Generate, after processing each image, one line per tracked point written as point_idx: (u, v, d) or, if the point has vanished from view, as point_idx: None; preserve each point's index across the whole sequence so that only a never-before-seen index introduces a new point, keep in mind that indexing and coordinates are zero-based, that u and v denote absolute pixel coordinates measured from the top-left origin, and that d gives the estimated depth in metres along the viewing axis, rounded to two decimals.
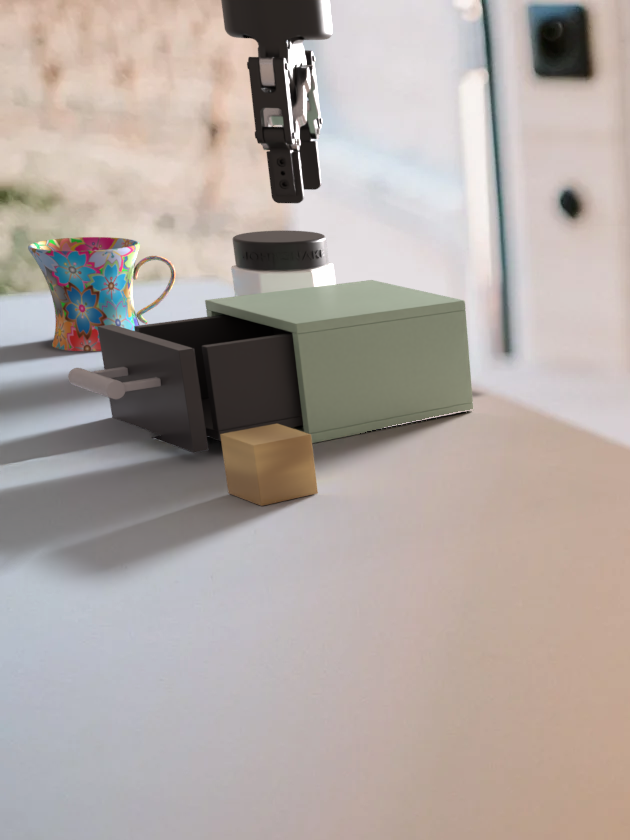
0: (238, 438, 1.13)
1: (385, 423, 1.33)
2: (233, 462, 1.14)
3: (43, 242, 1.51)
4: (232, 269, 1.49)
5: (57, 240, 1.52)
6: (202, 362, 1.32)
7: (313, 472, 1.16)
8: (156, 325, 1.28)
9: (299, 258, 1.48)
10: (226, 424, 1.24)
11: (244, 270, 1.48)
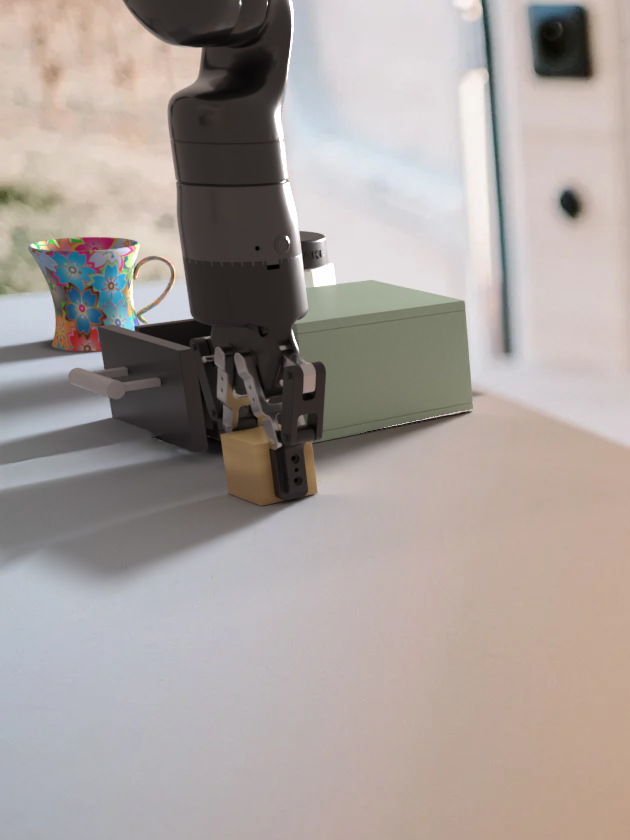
0: (238, 438, 1.13)
1: (385, 423, 1.33)
2: (233, 462, 1.14)
3: (43, 242, 1.51)
4: None
5: (57, 240, 1.52)
6: None
7: (313, 472, 1.16)
8: (156, 325, 1.28)
9: None
10: None
11: None
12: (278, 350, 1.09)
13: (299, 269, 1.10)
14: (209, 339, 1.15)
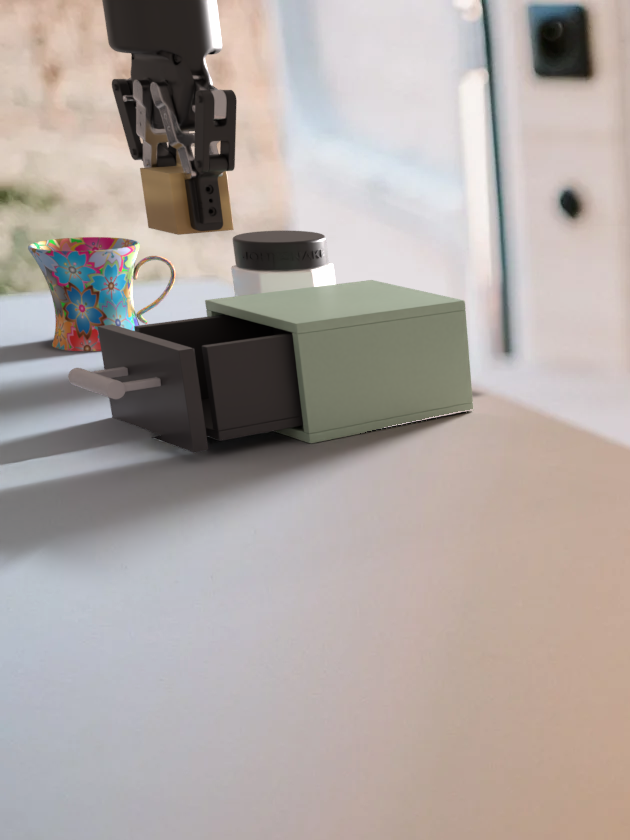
0: (156, 170, 1.19)
1: (385, 423, 1.33)
2: (152, 194, 1.20)
3: (43, 242, 1.51)
4: (232, 269, 1.49)
5: (57, 240, 1.52)
6: (202, 362, 1.32)
7: (229, 208, 1.22)
8: (156, 325, 1.28)
9: (299, 258, 1.48)
10: (226, 424, 1.24)
11: (244, 270, 1.48)
12: (191, 78, 1.15)
13: (212, 3, 1.16)
14: (130, 79, 1.21)
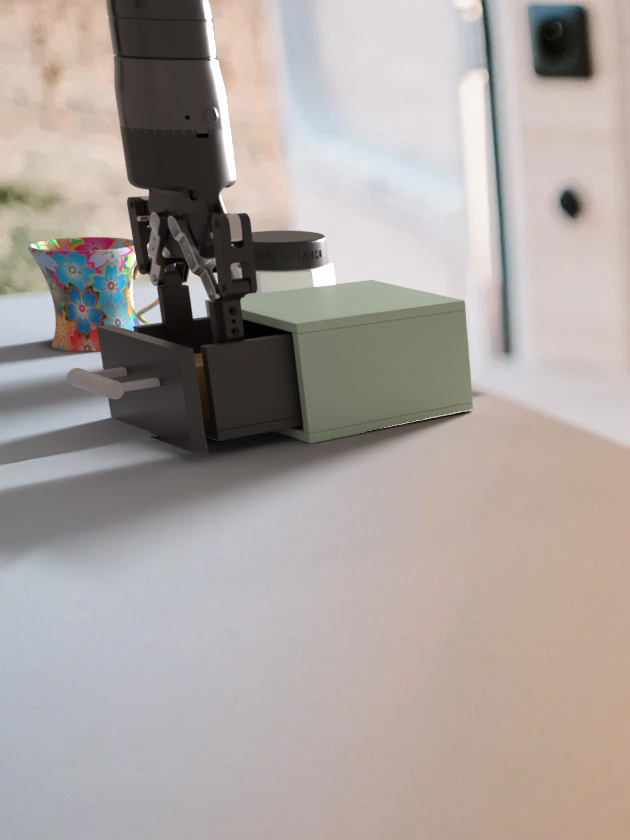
0: None
1: (385, 423, 1.33)
2: None
3: (43, 242, 1.51)
4: None
5: (57, 240, 1.52)
6: None
7: None
8: (155, 325, 1.28)
9: (299, 258, 1.48)
10: (225, 424, 1.24)
11: None
12: (206, 209, 1.20)
13: (227, 140, 1.21)
14: (146, 201, 1.25)
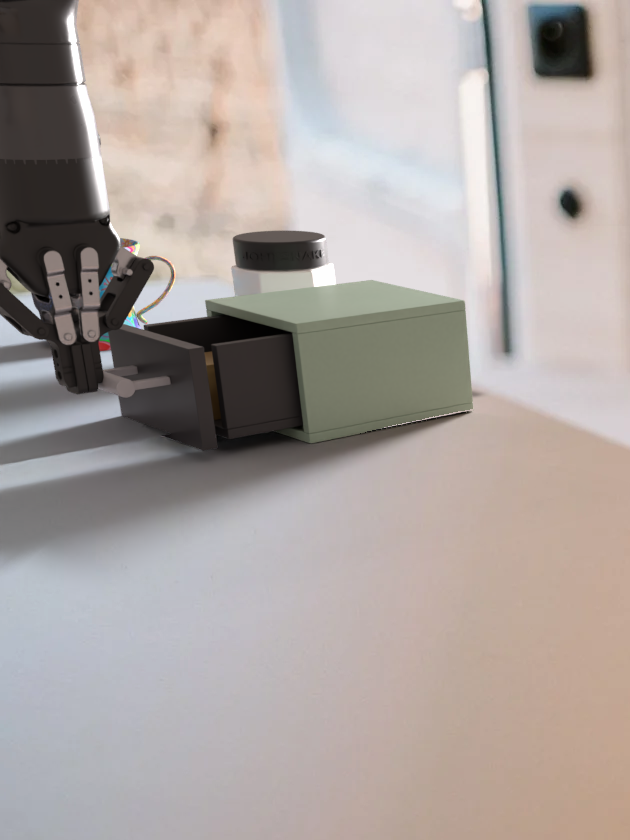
0: None
1: (385, 423, 1.33)
2: None
3: None
4: (232, 269, 1.49)
5: None
6: None
7: None
8: (165, 324, 1.29)
9: (299, 258, 1.48)
10: (235, 422, 1.25)
11: (244, 270, 1.48)
12: None
13: (15, 173, 1.11)
14: None
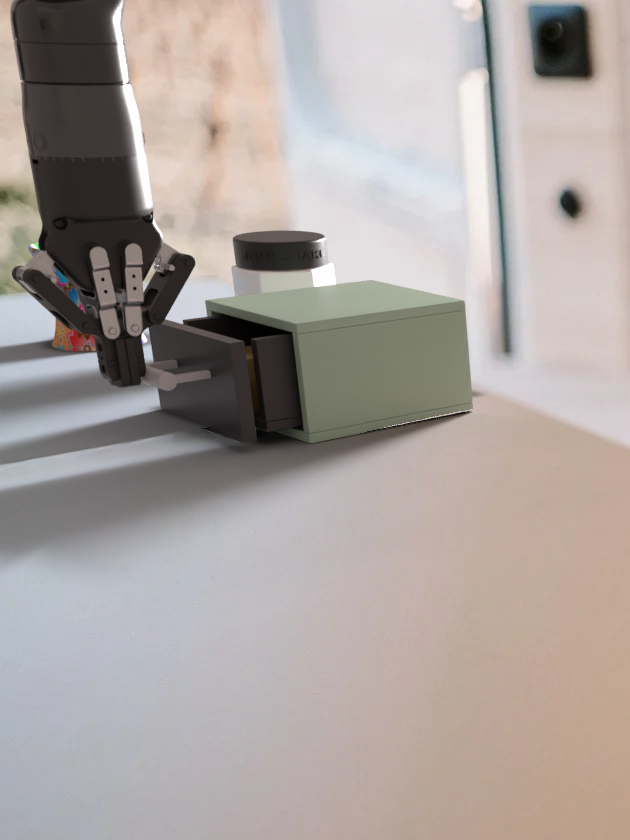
0: None
1: (385, 423, 1.33)
2: None
3: None
4: (232, 269, 1.49)
5: None
6: None
7: None
8: (204, 319, 1.31)
9: (299, 258, 1.48)
10: (274, 415, 1.27)
11: (244, 270, 1.48)
12: None
13: (63, 171, 1.13)
14: None
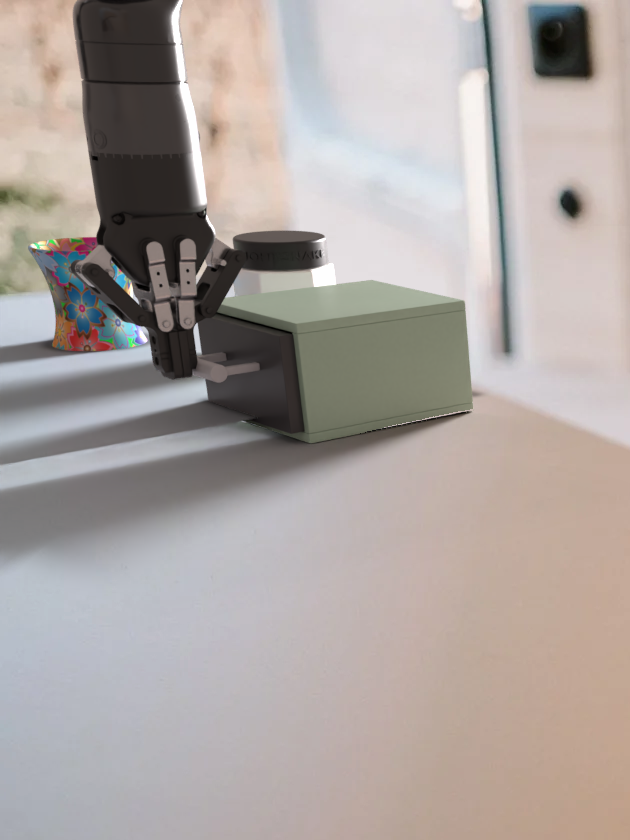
0: None
1: (385, 423, 1.33)
2: None
3: (43, 242, 1.51)
4: None
5: (57, 240, 1.52)
6: None
7: None
8: None
9: (299, 258, 1.48)
10: None
11: (244, 270, 1.48)
12: (96, 240, 1.19)
13: (122, 167, 1.16)
14: None
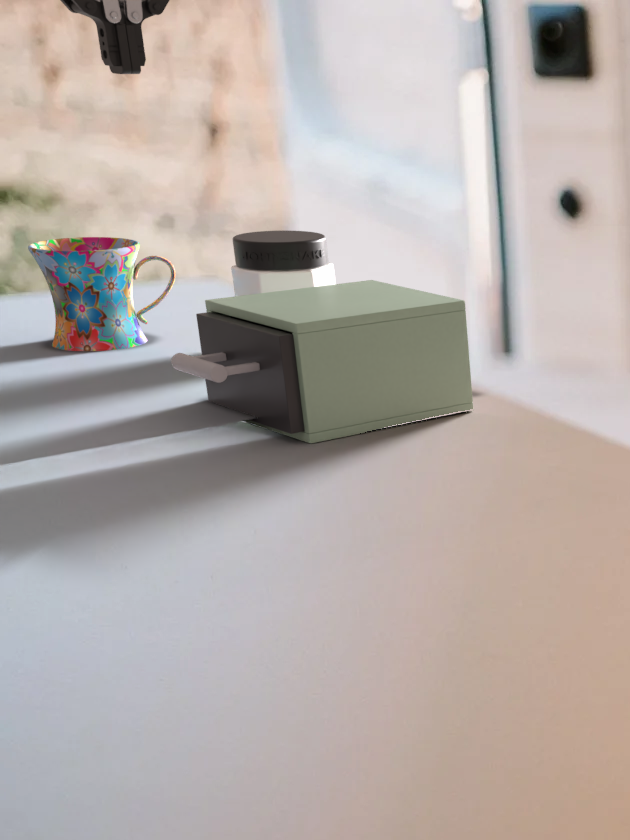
0: None
1: (385, 423, 1.33)
2: None
3: (43, 242, 1.51)
4: (232, 269, 1.49)
5: (57, 240, 1.52)
6: None
7: None
8: None
9: (299, 258, 1.48)
10: None
11: (244, 270, 1.48)
12: None
13: None
14: None
